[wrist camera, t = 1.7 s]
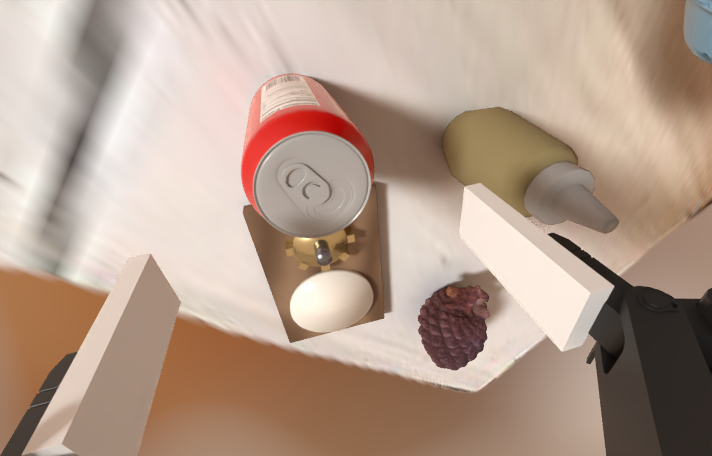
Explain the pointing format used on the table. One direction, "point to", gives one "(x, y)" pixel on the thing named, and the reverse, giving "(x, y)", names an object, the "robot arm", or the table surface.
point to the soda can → (304, 159)
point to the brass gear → (320, 249)
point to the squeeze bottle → (523, 168)
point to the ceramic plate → (331, 300)
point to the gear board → (288, 275)
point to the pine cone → (454, 325)
